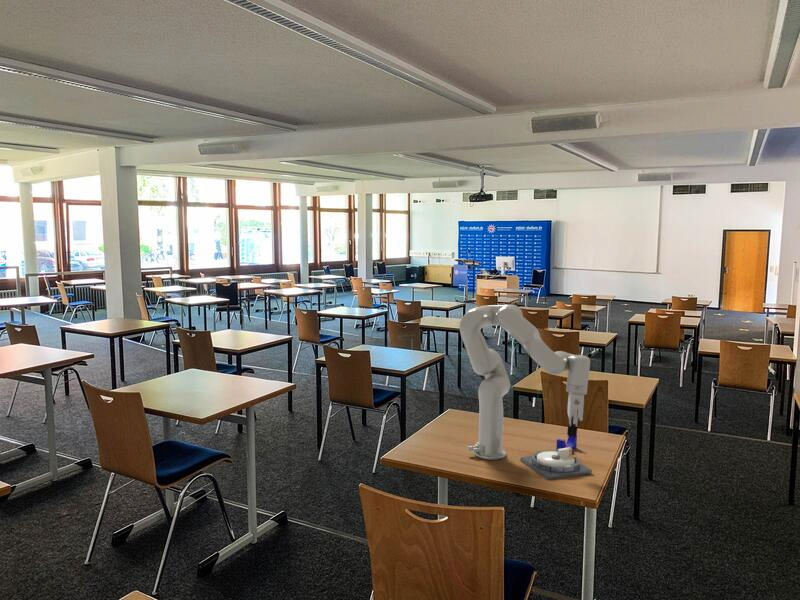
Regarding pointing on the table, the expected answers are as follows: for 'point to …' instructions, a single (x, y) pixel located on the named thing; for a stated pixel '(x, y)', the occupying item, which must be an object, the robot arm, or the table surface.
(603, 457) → the table surface
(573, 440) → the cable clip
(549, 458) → the dial
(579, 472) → the panel
